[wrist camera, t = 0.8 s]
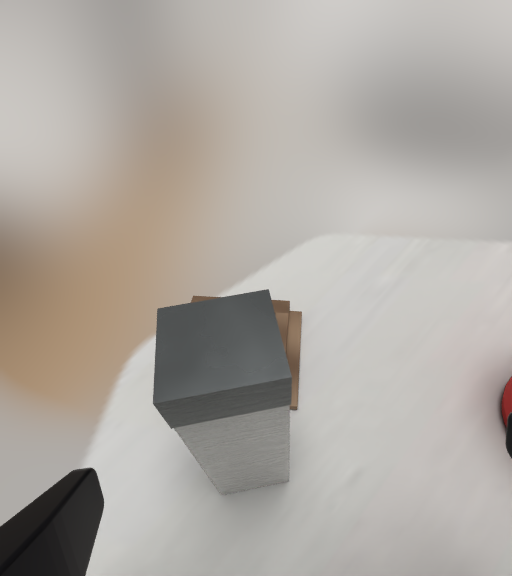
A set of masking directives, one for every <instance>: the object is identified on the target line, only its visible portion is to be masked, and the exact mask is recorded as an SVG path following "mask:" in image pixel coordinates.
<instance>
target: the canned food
mask: <svg viewBox="0 0 512 576" xmlns="http://www.w3.org/2000/svg"><path fill="white" fill-rule="evenodd" d="M511 412H512V377H511V378H510V380H509V381H508V383H507V384H506V387H505V391H504V394H503V398H502V415H503V419H504V423H505V426H506V428H507V418H508V415H509V414H510V413H511Z"/></svg>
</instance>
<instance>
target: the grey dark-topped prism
mask: <svg viewBox="0 0 512 576" xmlns="http://www.w3.org/2000/svg"><path fill="white" fill-rule="evenodd" d="M291 401H292V376H291V372H290V368H289V364H288V361H287V357H286V353H285V349H284V345H283V342H282V338H281V334H280V330H279V327H278V323H277V319H276V315H275V312H274V308H273V304H272V300H271V297H270V293H269V289H267V290H262V291H256V292H250V293H244V294H239V295H233V296H227V297H222V298H216V299H210V300H204V301H199V302H193V303H188V304H182V305H176V306H170V307H164V308H159V309H158V311H157V331H156V352H155V373H154V394H153V404H154V406H155V407H156V408H157V410H158V411H159V413H160V414H161V415H162V417H163V418H164V419H165V421H166V422H167V423H168V425H169V426H170V428H171V429H172V428H174V429H175V431H176V432H177V433H178V435H179V436H180V438H181V439H182V440H183V442H184V443H185V445H186V446H187V447H188V449H189V450H190V452H191V453H192V454H193V456H194V457H195V459H196V460H197V461H198V463H199V464H200V466H201V467H202V468H203V470H204V471H205V473H206V474H207V475H208V477H209V478H210V480H211V481H212V482H213V484H214V485H215V486H216V488H217V489H218V491H219V492H220V493H221V495H226V494H231V493H235V492H240V491H245V490H250V489H254V488H259V487H264V486H268V485H273V484H278V483H283V482H287V481H289V427H290V405H291Z"/></svg>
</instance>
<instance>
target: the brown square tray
mask: <svg viewBox="0 0 512 576" xmlns="http://www.w3.org/2000/svg"><path fill="white" fill-rule="evenodd" d="M216 298H222V297H204V296H193V298H192V301H191V303H193V302H199V301H204V300H210V299H216ZM272 304H273V308H274V312H275V315H276V319H277V323H278V327H279V330H280V334H281V338H282V342H283V345H284V349H285V353H286V357H287V361H288V364H289V368H290V372H291V376H292V401H291V405H290V409H295V410H297V403H298V381H299V360H300V338H301V317H302V312H297V311H290V301H281V300H272Z"/></svg>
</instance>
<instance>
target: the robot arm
mask: <svg viewBox="0 0 512 576" xmlns="http://www.w3.org/2000/svg"><path fill="white" fill-rule="evenodd" d="M506 448H507V451H508V453H509V455H510V457H511V458H512V412H511V413H510V414H509V415H508V418H507V431H506ZM103 508H104V498H103V494H102V491H101V487H100V483H99V480H98V476H97V473H96V471H95V470H94V469H93V468H84V469H77V470H73V471H71V472H70V473H69V474H68V475H66V476H65V477H64V478H62V479H61V480H60V481H58V482H57V483H56V484H55V485H53V486H52V487H51V488H49V489H48V490H47V491H46V492H44V493H43V494H42V495H41V496H39V497H38V498H37V499H35V500H34V501H33V502H32V503H30V504H29V505H28V506H26V507H25V508H24V509H22V510H21V511H20V512H19V513H17V514H16V515H15V516H14V517H12V518H11V519H10V520H8V521H7V522H6V523H4V524H3V525H2V526H1V527H0V576H85V575H86V571H87V568H88V564H89V560H90V557H91V553H92V549H93V546H94V542H95V539H96V535H97V531H98V528H99V524H100V521H101V517H102V513H103Z"/></svg>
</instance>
